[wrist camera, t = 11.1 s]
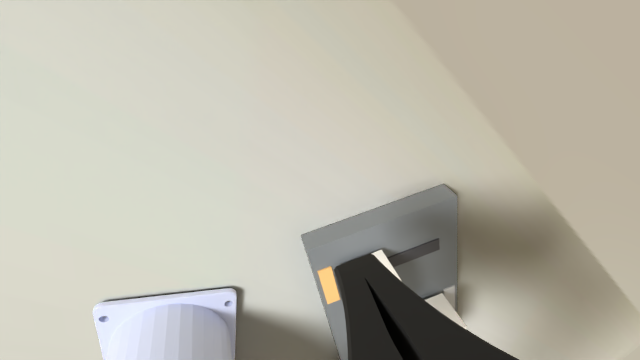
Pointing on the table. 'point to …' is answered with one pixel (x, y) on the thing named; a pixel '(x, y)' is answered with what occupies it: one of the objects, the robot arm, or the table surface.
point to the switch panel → (390, 250)
